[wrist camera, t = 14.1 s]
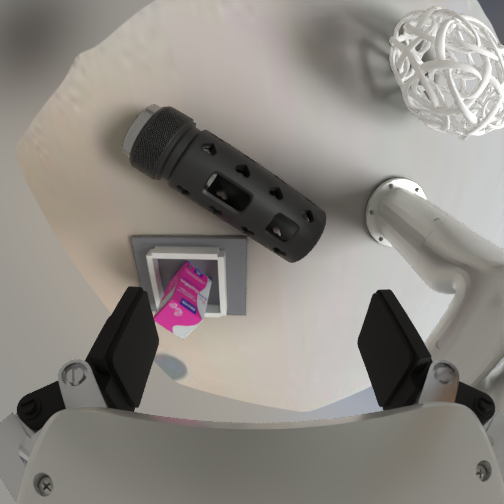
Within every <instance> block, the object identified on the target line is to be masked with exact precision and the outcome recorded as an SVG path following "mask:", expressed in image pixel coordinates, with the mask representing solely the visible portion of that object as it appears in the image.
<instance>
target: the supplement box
mask: <svg viewBox="0 0 504 504" xmlns="http://www.w3.org/2000/svg"><path fill="white" fill-rule="evenodd" d="M211 283H212V279H211V278H210V277H208V276H207V275H205V274H204V273H202V272H201V271H200V270H198V269H197V268H196V267H194V266H193V265H192V264H191V263H190V262H188V261H186V262H185V263H184V264H183V266H182V267H181V268H180V269H179V270H178V271H177V272H176V274H175V275H174V276H173V277H172V278H171V279H170V281H169V283H168V286H167V288H166V290H165V292H164V295H163V297H162V299H161V302H160V304H159V306H158V309H157V311H156V313H155V316H154V321H155V322H157V323H158V324H160V325H161V326H163V327H164V328H166V329H167V330H169V331H170V332H172V333H174V334H175V335H177V336H178V337H180V338H181V339H184V338H185V337H186V336H187V335H188V334H189V333H191V332H192V331H193V330H194V329H195V328H196V327H197V326H198V325H199V324H200V323H201V322H202V321H203V320H204V315H205V310H206V306H207V301H208V297H209V292H210V287H211Z"/></svg>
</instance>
